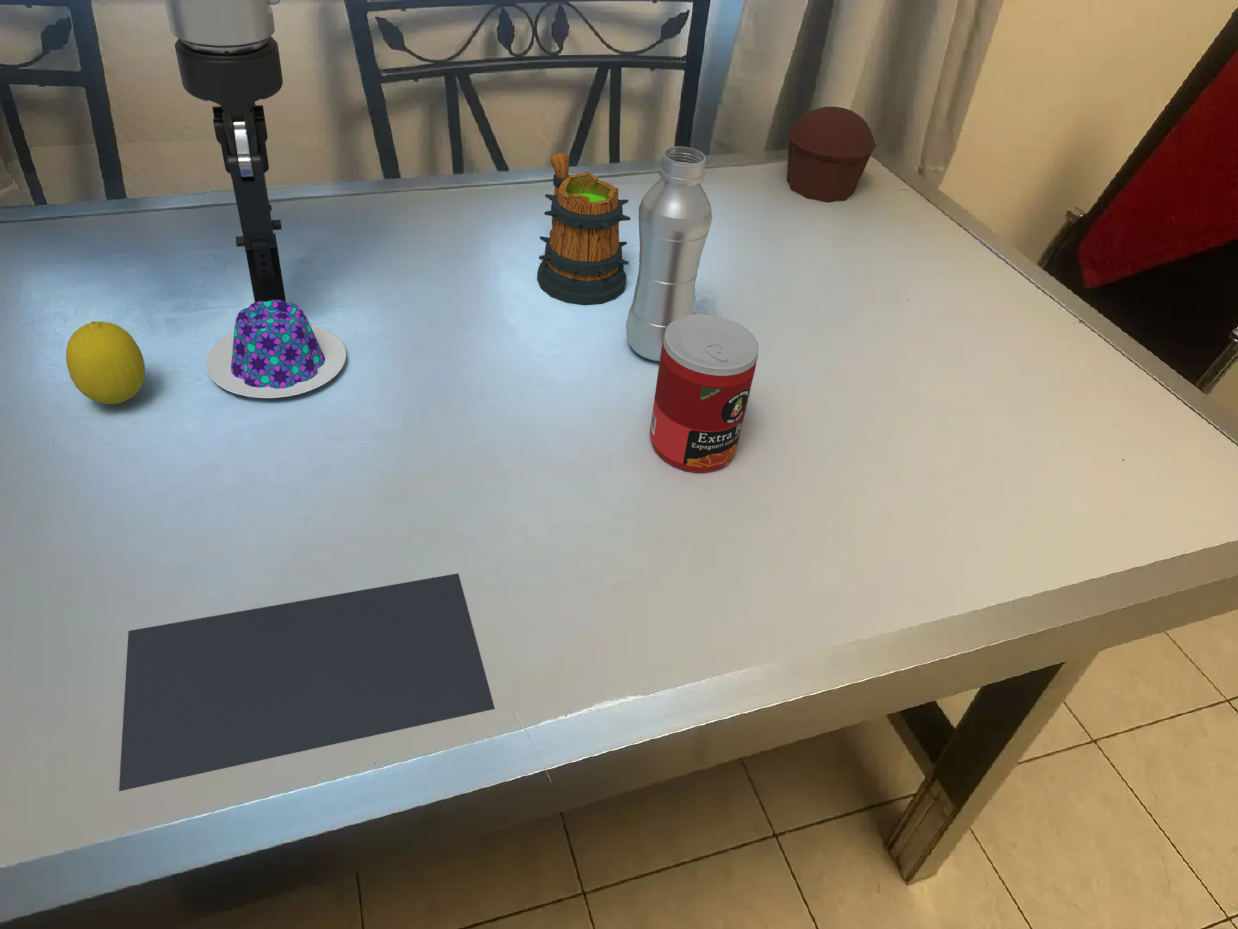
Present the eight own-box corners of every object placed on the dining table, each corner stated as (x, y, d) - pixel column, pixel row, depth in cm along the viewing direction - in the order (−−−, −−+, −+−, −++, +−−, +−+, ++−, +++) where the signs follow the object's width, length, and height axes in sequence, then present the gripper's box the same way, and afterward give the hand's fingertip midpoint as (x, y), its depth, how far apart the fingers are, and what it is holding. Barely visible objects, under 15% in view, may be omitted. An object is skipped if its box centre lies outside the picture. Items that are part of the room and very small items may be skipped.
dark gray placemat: (119, 791, 55) (118, 791, 55) (128, 631, 63) (128, 630, 63) (494, 709, 61) (494, 708, 61) (458, 574, 70) (458, 573, 70)
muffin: (817, 162, 132) (834, 89, 126) (880, 193, 127) (901, 119, 120) (758, 180, 126) (773, 104, 120) (822, 214, 120) (841, 137, 114)
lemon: (78, 426, 78) (49, 345, 72) (86, 386, 82) (59, 306, 76) (152, 419, 79) (128, 339, 74) (156, 380, 83) (134, 301, 78)
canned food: (691, 487, 79) (711, 380, 72) (629, 435, 83) (643, 329, 76) (755, 454, 83) (780, 349, 76) (693, 406, 88) (711, 303, 80)
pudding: (346, 401, 83) (340, 351, 80) (200, 408, 81) (187, 357, 77) (347, 325, 92) (342, 277, 89) (215, 329, 90) (204, 280, 86)
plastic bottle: (680, 377, 91) (713, 178, 78) (613, 358, 92) (635, 160, 79) (698, 342, 96) (732, 150, 82) (634, 325, 97) (658, 133, 84)
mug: (645, 296, 101) (658, 194, 94) (558, 313, 97) (564, 208, 90) (591, 239, 110) (599, 142, 102) (509, 253, 105) (510, 152, 98)
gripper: (282, 66, 70) (318, 335, 85) (271, 10, 79) (306, 263, 95) (171, 68, 68) (229, 344, 83) (173, 10, 77) (225, 269, 92)
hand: (270, 300), depth 89 cm, fingers closed
